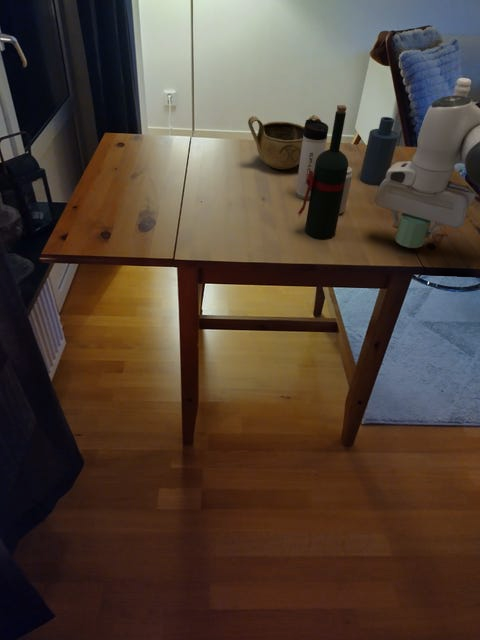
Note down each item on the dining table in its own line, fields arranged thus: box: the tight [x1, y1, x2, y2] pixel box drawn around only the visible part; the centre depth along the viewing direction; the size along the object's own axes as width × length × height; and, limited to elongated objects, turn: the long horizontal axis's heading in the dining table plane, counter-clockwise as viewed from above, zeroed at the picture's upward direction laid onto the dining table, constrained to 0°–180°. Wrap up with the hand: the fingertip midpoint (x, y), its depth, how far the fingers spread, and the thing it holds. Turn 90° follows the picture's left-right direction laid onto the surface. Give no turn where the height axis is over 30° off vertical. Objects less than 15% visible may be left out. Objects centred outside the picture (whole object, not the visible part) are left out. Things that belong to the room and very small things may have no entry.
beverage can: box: [339, 165, 353, 215], centre depth 121 cm, size 6×6×12 cm
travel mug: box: [295, 118, 329, 201], centre depth 125 cm, size 6×7×20 cm
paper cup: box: [394, 213, 432, 249], centre depth 110 cm, size 7×7×6 cm
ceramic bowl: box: [247, 114, 322, 170], centre depth 142 cm, size 22×17×15 cm
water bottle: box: [359, 116, 399, 186], centre depth 135 cm, size 8×8×18 cm
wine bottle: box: [297, 104, 349, 241], centre depth 106 cm, size 8×10×30 cm
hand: (411, 231), depth 110 cm, fingers closed on paper cup, 6 cm apart
